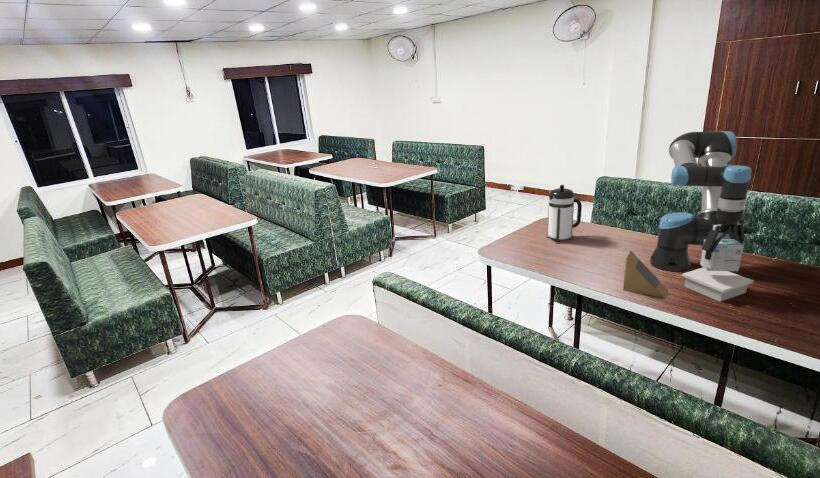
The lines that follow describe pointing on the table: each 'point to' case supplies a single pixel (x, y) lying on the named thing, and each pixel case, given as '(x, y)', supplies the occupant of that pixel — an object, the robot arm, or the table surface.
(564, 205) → the coffee press
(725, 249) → the light bulb box
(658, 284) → the sandwich container
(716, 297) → the podium
